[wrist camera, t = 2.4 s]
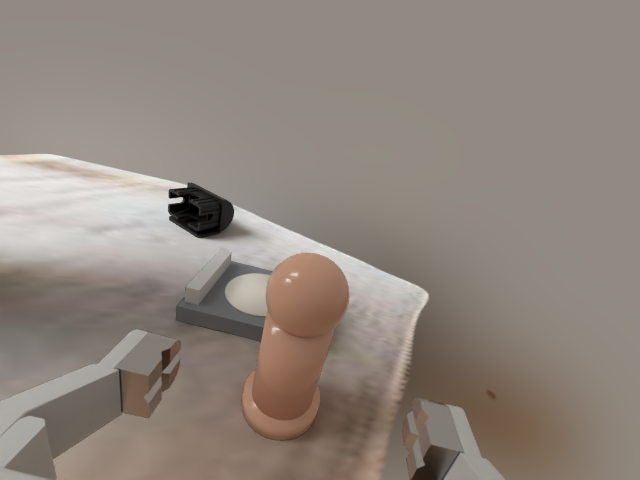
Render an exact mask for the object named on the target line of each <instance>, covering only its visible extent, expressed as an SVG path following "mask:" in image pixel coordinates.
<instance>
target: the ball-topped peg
mask: <svg viewBox="0 0 640 480" xmlns="http://www.w3.org/2000/svg"><path fill="white" fill-rule="evenodd" d="M265 295H266V305H267V309H268V310H267V314H266V319H265V324H264V329H263V334H262V339H261V344H260V350H259V355H258V360H257V365H256V369H254V370H253V371H252V372H251V373H250V375H249V376H248V378H247V380H246V382H245V385H244V391H243V396H242V412H243V415H244V417H245V420H246V421H247V423H248V424H249V426H250V427H251V428H252V429H253V430H254V431H255V432H257V433H258V434H260V435H262V436H264V437H266V438H269V439H273V440H289V439H293V438H296V437H298V436H300V435H302V434H303V433H305V432H306V431H307V430H308V429H309V428H310V426H311V425H312V424H313V422H314V420H315V417H316V414H317V411H318V408H319V405H320V398H321V396H320V389H319V386H318V382H319V379H320V375H321V372H322V369H323V366H324V363H325V360H326V356H327V353H328V350H329V347H330V344H331V341H332V337H333V334H334V331H335V327H336V326H337V325H338V324H339V323H340V321H341V320H342V318H343V317H344V315H345V313H346V310H347V307H348V303H349V287H348V283H347V280H346V278H345V275H344V274H343V272H342V271H341V269H340V268H339V267H338V266H337V265H336V264H335V263H334V262H333V261H331V260H330V259H328V258H327V257H324V256H322V255H319V254H314V253H301V254H296V255H293V256H291V257H289V258H287V259H285V260H284V261H282V262H281V263H280V264H279V265H278V266H277V267H276V268H275V269H274V271H273V272H272V274H271V275H270V278H269V280H268V283H267V286H266V294H265Z"/></svg>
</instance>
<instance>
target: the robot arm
mask: <svg viewBox="0 0 640 480" xmlns="http://www.w3.org/2000/svg"><path fill="white" fill-rule="evenodd" d="M179 350H180V341H179V340H176V339H173V338H169V337H165V336H161V335H158V334H154V333H149V332H146V331H142V330H138V329H135V330H133V331H131V332H130V333H129V334H128V335H127V336H126V337H125V338H124V339H123V340H122V341H121V342H120V343H119V344H117V345H116V346H115V347H114V348H113V349H112V350H111V351H110V352H109V353H108V354H107V355H106V356H105V357H104V358H103V359H102V360H101V361H100V362H99V363H98V364H93V363H92V364H90V365H87V366H85V367H83V368H80V369H78V370H75V371H73V372H70V373H68V374H65V375H63V376H60V377H58V378H56V379H53V380H51V381H48V382H46V383H43V384H41V385H38V386H36V387H33V388H31V389H29V390H26V391H24V392H21V393H19V394H16V395H14V396H11V397H9V398H6V399H4V400H2V401H0V480H57V475H56V471H55V466H54V461H53V459H54V458H56V457H57V456H59V455H60V454H62V453H63V452H65V451H66V450H68V449H70V448H71V447H73V446H74V445H76V444H77V443H79V442H80V441H82V440H83V439H85V438H86V437H88V436H89V435H91V434H92V433H94V432H95V431H97V430H98V429H100V428H101V427H103V426H105V425H106V424H108V423H109V422H111V421H112V420H114V419H115V418H117V417H118V416H120V415H121V413H126V414H131V415H135V416H140V417H145V418H149V417H150V416H151V414H152V413H153V411H154V410H155V408H156V407H157V405H158V404H159V402H160V401H161V393H162V392H163V391H164V390H166V389H168V388H169V387H170V386H171V384H172V383H173V381H174V379H175V377H176V375H177V372H178V369H179V365H180V358H179V357H178V355H177V353H178V352H179ZM411 406H412V410H413V411H412V412H410V413H408V414H407V415H406V418H405V420H404V424H403V442H404V446H405V447H406V448H407V450H408V451H409V455H408V457H407V458H406V461H407V467H408V473H409V479H410V480H505V479H504V478H503V476H502V475H501V474H500V473H499V472H498V471H497V470H496V469H495V468H494V467H493V465H492V464H491V463H490V462H489V461H488V460H487V459H485V458H482V456H481V454H480V451H479V448H478V446H477V443H476V441H475V438H474V435H473V433H472V430H471V428H470V425H469V423H468V420H467V418H466V415H465V412H464V410H463V409H462V408H460V407H456V406H451V405H447V404H443V403H438V402H435V401H430V400H426V399H422V398H415V399H414V401H413V403H412V405H411Z"/></svg>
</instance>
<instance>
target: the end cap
mask: <svg viewBox="0 0 640 480" xmlns="http://www.w3.org/2000/svg"><path fill="white" fill-rule="evenodd" d="M178 197H183V201H182V202H181V203H175V204H168V212H169V214H170V215H172V216H170V217H169V220H170V221H172V222H173V223H175V224H176V225H178V226H180V227H181V228H183V229H184V230H186V231H187V232H189V233H191V234H192V235H194V236H195V237H197V238H203V237H207V236H211V235H215V234H218V233H220V232H221V231H222V230H224V229H225V228H227V227H228V226H229V224H230V223H231V221H232V219H233V216H234V208H233V205H232V204H231V203H230V202H229V201H227V200H225V199H223V198H221V197H219V196H217V195H215V194H213V193H211V192H210V191H208V190H205V189H204V188H202V187H200V186H198V185H196V184H194V183H188V187H187V188H179V189H170V190H169V198H178Z"/></svg>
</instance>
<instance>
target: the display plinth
mask: <svg viewBox="0 0 640 480" xmlns="http://www.w3.org/2000/svg"><path fill="white" fill-rule="evenodd" d="M231 254H232V252H228V251H224V250H220V251H219V252H218V253H217V254H216V255H215V256H214V257H213V258H212V259H211V260H210V261H209V263H208V264H207V265H206V266H205V267H204V268H203V269H202V270H201V271H200V272H199V273H198V274H197V275H196V276H195V277H194V278H193V279H192V280H191V282H190V283H189V284H188V285H187V286H186V287H185V297H184V298H183V299H182V300H181V301H180V302H179V304H178V305H177V306H176V320H178V321H182V322H186V323H190V324H194V325H198V326H202V327H206V328H210V329H214V330H218V331H222V332H226V333H230V334H234V335H238V336H242V337H246V338H250V339H254V340H258V341H261V339H262V334H263V329H264V324H265V319H266V314H267V310H268V309H267V305H266V295H265V294H266V286H267V283H268V280H269V278H270V275H271V274H272V272H273V271H269V270H265V269H261V268H257V267H253V266H249V265H245V264H241V263H237V262H233V261H231Z"/></svg>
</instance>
